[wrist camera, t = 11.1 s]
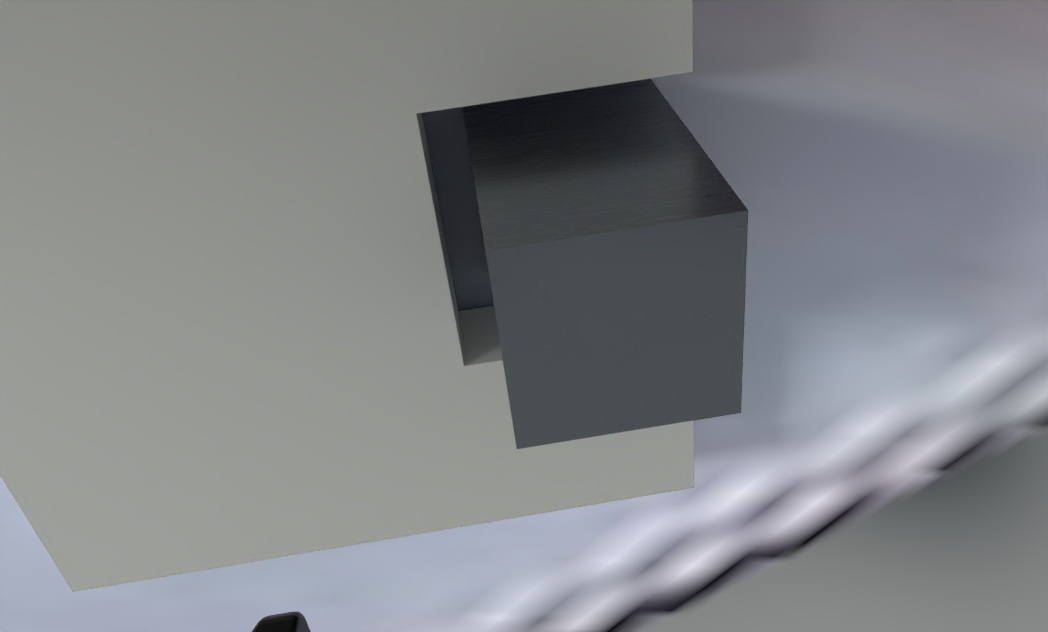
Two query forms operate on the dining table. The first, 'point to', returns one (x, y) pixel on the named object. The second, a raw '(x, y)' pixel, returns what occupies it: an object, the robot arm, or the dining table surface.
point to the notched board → (274, 275)
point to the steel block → (608, 263)
